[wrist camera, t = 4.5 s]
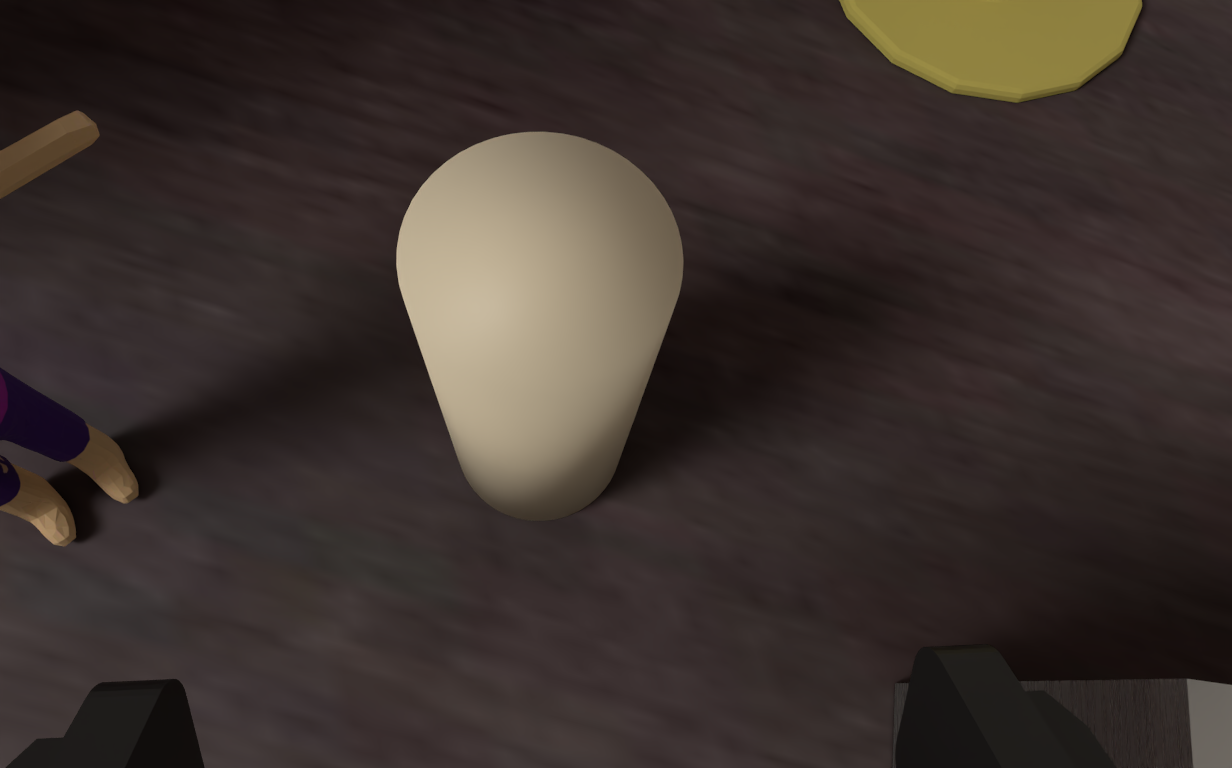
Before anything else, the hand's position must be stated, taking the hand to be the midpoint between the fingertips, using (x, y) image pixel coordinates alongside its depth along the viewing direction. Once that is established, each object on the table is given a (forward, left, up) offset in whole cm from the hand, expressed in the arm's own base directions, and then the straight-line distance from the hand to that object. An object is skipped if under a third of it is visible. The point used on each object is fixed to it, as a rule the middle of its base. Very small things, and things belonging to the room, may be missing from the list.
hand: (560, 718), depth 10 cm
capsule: (+1, -6, -11) cm, 12 cm away
